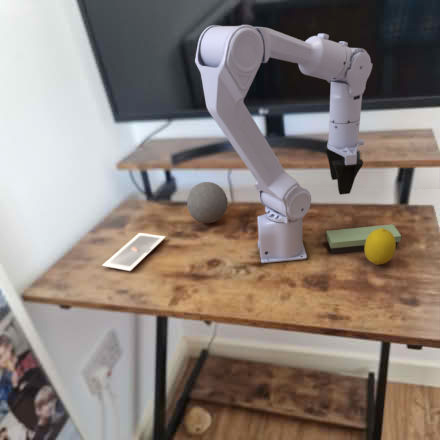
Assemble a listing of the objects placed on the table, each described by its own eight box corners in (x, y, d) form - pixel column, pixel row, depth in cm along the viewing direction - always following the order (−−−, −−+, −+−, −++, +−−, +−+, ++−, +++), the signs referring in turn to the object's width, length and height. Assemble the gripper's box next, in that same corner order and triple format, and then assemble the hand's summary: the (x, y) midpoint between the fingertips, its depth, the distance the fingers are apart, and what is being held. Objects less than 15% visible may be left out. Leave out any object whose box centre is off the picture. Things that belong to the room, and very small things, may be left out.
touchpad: (103, 269, 90) (100, 261, 89) (140, 236, 101) (138, 228, 99) (131, 275, 87) (128, 266, 86) (166, 240, 97) (165, 232, 96)
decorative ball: (182, 226, 102) (175, 188, 96) (205, 209, 108) (200, 173, 102) (214, 233, 97) (209, 195, 91) (236, 215, 103) (233, 178, 97)
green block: (330, 255, 84) (331, 242, 82) (325, 242, 88) (326, 230, 86) (399, 248, 83) (401, 235, 81) (391, 236, 87) (393, 224, 85)
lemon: (394, 272, 77) (400, 236, 72) (363, 272, 78) (367, 236, 73) (390, 257, 81) (396, 221, 76) (361, 256, 82) (365, 221, 78)
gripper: (376, 127, 72) (368, 198, 80) (356, 107, 83) (351, 171, 91) (336, 132, 72) (332, 202, 81) (321, 111, 84) (320, 174, 92)
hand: (340, 185), depth 86 cm, fingers open, 7 cm apart
